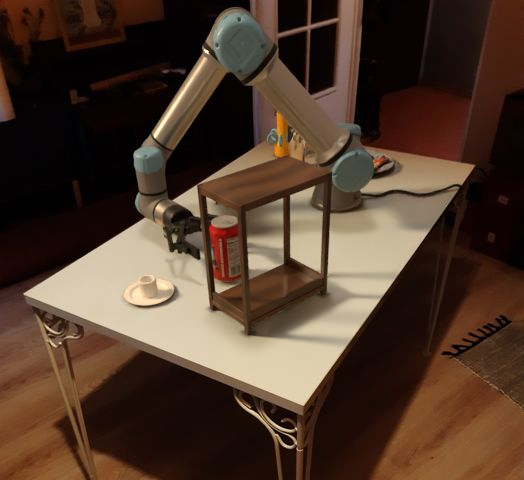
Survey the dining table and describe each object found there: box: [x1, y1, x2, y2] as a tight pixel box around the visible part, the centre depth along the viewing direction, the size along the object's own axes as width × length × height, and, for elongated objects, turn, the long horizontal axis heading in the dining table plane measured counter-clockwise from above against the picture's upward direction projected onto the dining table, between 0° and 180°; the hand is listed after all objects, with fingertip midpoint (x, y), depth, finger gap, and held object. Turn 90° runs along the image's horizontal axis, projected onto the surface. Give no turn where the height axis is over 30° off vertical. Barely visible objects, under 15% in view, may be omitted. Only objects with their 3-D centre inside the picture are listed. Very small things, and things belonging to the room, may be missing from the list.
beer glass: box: [287, 124, 308, 162], centre depth 194 cm, size 7×7×15 cm
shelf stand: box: [196, 155, 332, 336], centre depth 123 cm, size 14×24×30 cm, turn 130°
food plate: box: [365, 148, 396, 175], centre depth 197 cm, size 25×23×4 cm
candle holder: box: [123, 274, 175, 306], centre depth 135 cm, size 12×12×4 cm
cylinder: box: [266, 111, 290, 158], centre depth 204 cm, size 12×10×15 cm
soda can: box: [209, 214, 241, 283], centre depth 137 cm, size 8×8×15 cm
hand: (222, 245), depth 137 cm, fingers open, 13 cm apart
